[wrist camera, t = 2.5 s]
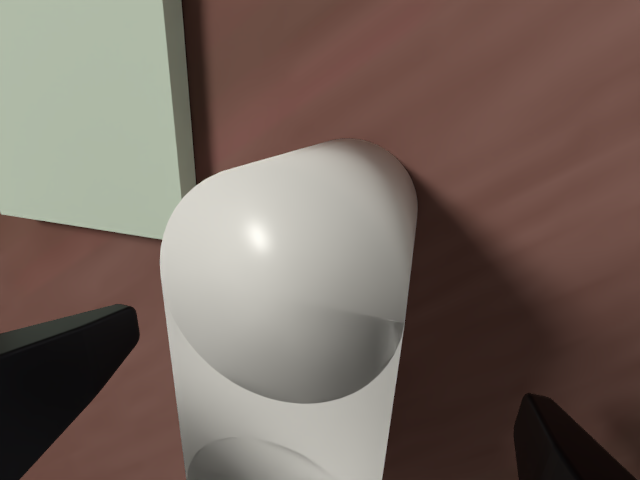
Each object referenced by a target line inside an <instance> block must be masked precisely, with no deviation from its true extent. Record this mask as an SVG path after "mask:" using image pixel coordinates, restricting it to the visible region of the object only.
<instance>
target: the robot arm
mask: <svg viewBox="0 0 640 480" xmlns="http://www.w3.org/2000/svg"><path fill="white" fill-rule="evenodd" d="M139 336H140V333H139V326H138V320H137V314H136V310H135V309H134V308H133V307H131V306H127V305H122V304H115V305H112V306H108V307H104V308H100V309H96V310H92V311H88V312H84V313H80V314H76V315H72V316H68V317H64V318H60V319H57V320H53V321H49V322H45V323H41V324H37V325H33V326H29V327H25V328H21V329H17V330H13V331H9V332H5V333H1V334H0V480H20V478H21V477H22V476H23V475H24V474H25V473H26V472H27V471H28V470H29V469H30V468H31V466H32V465H33V464H34V463H35V462H36V461H37V460H38V459H39V458H40V457H41V456H42V454H43V453H44V452H45V451H46V450H47V449H48V448H49V447H50V446H51V445H52V444H53V443H54V441H55V440H56V439H57V438H58V437H59V436H60V435H61V434H62V433H63V432H64V431H65V429H66V428H67V427H68V426H69V425H70V424H71V423H72V422H73V421H74V420H75V419H76V417H77V416H78V415H79V414H80V413H81V412H82V411H83V410H84V409H85V408H86V407H87V406H88V404H89V403H90V402H91V401H92V400H93V399H94V398H95V397H96V395H97V394H98V393H99V392H100V390H101V389H102V388H103V387H104V385H105V384H106V383H107V382H108V380H109V379H110V378H111V376H112V375H113V374H114V373H115V371H116V370H117V369H118V367H119V366H120V365H121V364H122V362H123V361H124V360H125V358H126V357H127V356H128V355H129V353H130V352H131V351H132V350H133V348H134V347H135V346H136V344H137V342H138V340H139ZM514 444H515V452H516V460H517V469H518V477H519V480H637V479H636V478H635V477H633V476H632V475H631V474H630V473H629V472H628V471H627V470H626V469H625V468H624V467H623V466H622V465H621V464H620V463H619V462H618V461H617V460H616V459H614V458H613V457H612V456H611V455H610V454H609V453H608V452H607V451H606V450H605V449H604V448H603V447H602V446H601V445H600V444H599V443H598V442H596V441H595V440H594V439H593V438H592V437H591V436H590V435H589V434H588V433H587V432H586V431H585V430H584V429H583V428H582V427H581V426H580V425H579V424H577V423H576V422H575V421H574V420H573V419H572V418H571V417H570V416H569V415H568V414H567V413H566V412H565V411H564V410H563V409H562V408H561V407H560V406H558V405H557V404H556V403H555V402H554V401H553V400H552V399H551V398H549V397H545V396H541V395H536V394H531V393H527V394H525V395H524V397H523V399H522V402H521V405H520V408H519V411H518V415H517V418H516V421H515V425H514Z"/></svg>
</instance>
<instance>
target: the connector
mask: <svg viewBox="0 0 640 480" xmlns="http://www.w3.org/2000/svg"><path fill="white" fill-rule="evenodd" d="M417 214H418V202H417V195H416V190H415V187H414V184H413V182H412V179H411V178H410V176H409V174H408V172H407V170H406V169H405V168H404V166H403V165H402V164H401V163H400V162H399V160H398V159H397V158H396V157H395V156H393V155H392V154H391V153H390V152H388V151H387V150H385V149H384V148H382V147H380V146H378V145H376V144H374V143H371V142H368V141H365V140H361V139H353V138H342V139H335V140H331V141H327V142H324V143H320V144H316V145H313V146H309V147H306V148H302V149H299V150H295V151H292V152H288V153H285V154H281V155H278V156H274V157H271V158H267V159H264V160H260V161H257V162H253V163H250V164H246V165H242V166H239V167H235V168H232V169H229V170H225V171H222V172H219V173H217V174H215V175H213V176H211V177H209V178H206V179H205V180H204V181H202V182H201V183H199V184H198V185H196V186H195V187H194V188H192V189H191V190H190V191H189V192H188V193H187V194H186V195H185V196H184V197H183V198H182V200H181V201H180V202H179V204H178V205H177V206H176V208H175V209H174V211H173V213H172V215H171V217H170V219H169V220H168V223H167V226H166V229H165V231H164V234H163V239H162V244H161V252H160V272H161V282H162V290H163V298H164V306H165V314H166V322H167V330H168V338H169V345H170V353H171V361H172V369H173V377H174V385H175V393H176V401H177V409H178V417H179V425H180V433H181V441H182V448H183V456H184V464H185V472H186V480H382V476H383V470H384V463H385V456H386V449H387V442H388V435H389V428H390V421H391V414H392V407H393V400H394V394H395V387H396V380H397V373H398V366H399V359H400V352H401V345H402V338H403V331H404V325H405V317H406V308H407V300H408V291H409V283H410V274H411V266H412V257H413V249H414V241H415V232H416V224H417Z"/></svg>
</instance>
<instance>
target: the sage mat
mask: <svg viewBox="0 0 640 480" xmlns="http://www.w3.org/2000/svg"><path fill="white" fill-rule="evenodd" d="M195 186H196V177H195V164H194V152H193V139H192V127H191V114H190V102H189V89H188V77H187V64H186V52H185V39H184V27H183V14H182V2H181V0H0V212H1V214H3V215H10V216H16V217H22V218H29V219H35V220H41V221H48V222H54V223H60V224H67V225H73V226H79V227H86V228H92V229H98V230H105V231H111V232H117V233H124V234H130V235H137V236H143V237H149V238H156V239H163V234H164V231H165V229H166V226H167V223H168V220H169V219H170V217H171V215H172V213H173V211H174V209H175V208H176V206H177V205H178V204H179V202H180V201H181V200H182V198H183V197H184V196H185V195H186V194H187V193H188V192H189V191H190V190H191V189H192V188H194V187H195Z"/></svg>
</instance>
